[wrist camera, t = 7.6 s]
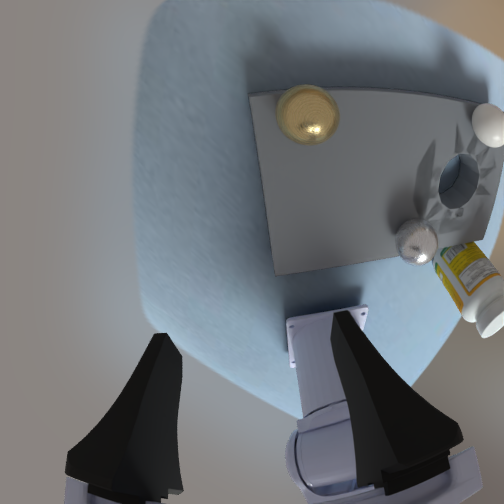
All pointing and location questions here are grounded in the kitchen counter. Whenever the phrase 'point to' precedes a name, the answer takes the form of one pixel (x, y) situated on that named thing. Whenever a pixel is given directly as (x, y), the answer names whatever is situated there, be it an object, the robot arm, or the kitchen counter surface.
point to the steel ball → (416, 242)
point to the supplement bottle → (472, 285)
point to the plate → (372, 177)
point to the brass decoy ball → (307, 114)
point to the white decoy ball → (489, 124)
